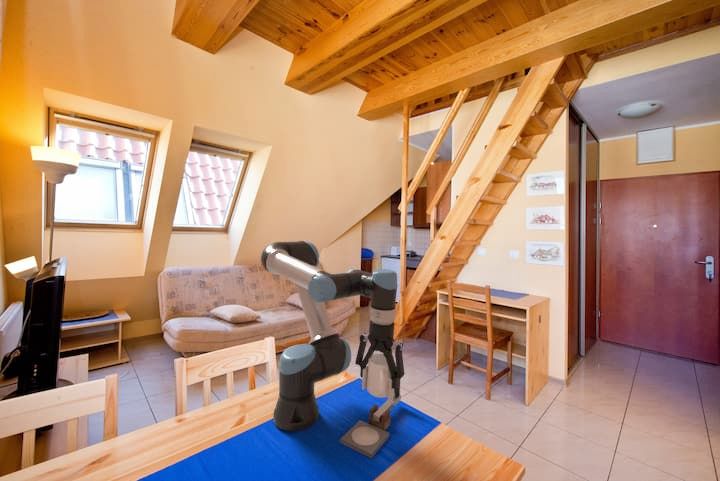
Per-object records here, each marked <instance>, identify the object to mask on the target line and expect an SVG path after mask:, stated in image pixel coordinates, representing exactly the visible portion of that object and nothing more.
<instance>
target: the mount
mask: <svg viewBox="0 0 720 481" xmlns="http://www.w3.org/2000/svg"><path fill="white" fill-rule="evenodd" d="M378 409H379V404H377V403H375V404H374V405H373V406H372V407H371V408H370V409H369V414H368V415H369V417H368V424H370V425H372V426H375V427H377V428H379V429H382V430H384V431H386V430H387V429H388V428H389V426H391V410H390V409H387V410H386V411H385V412H384V413H383V414H382V420H381V421H380V422H377V421H375V420H373V414H374V413H375V412H376V411H377V410H378Z"/></svg>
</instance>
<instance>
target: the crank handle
mask: <svg viewBox="0 0 720 481" xmlns="http://www.w3.org/2000/svg"><path fill="white" fill-rule="evenodd" d="M401 399H402V394H401V379H399V378H398V384H397V387H396V388H395V389H394V396H393V397H392V398H391V400H389V399H388V398H387V400H386V401H385V402H384V403H383V404H382V405H381V406H380V407H378V410H377V411H376V412H375V413H374V414H373V420H375V421H377V422H380V421H381V420H382V414H383V413H384V412H385V411H386V410H387V409H390V411H392V410H393V408H394V407H396V405H397V404H398V403H399V402H400V401H401Z"/></svg>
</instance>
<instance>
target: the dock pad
mask: <svg viewBox="0 0 720 481" xmlns="http://www.w3.org/2000/svg"><path fill="white" fill-rule="evenodd" d="M389 437H390V432H388V431H386V430H385V431H384V430H382V429H379V428H377V427H375V426H372V425H370V424H369V422H365V421H362V419H361V420H358V421H357V422H356V423H355V424H354V425H353V426H352V427H351V428H350V429H349V430H347V432H346V433H345V434H344V435H343V436H342V437H340V440H339V443H340V444H342V445H344V446H346V447H348V448H350V449H351V450H354V451H356V452H358V453H360V454H362V455H364V456H366V457H368V458H370V459H372V458H373V457H374V456H375V454H376V453H378V451H379V450H380V448H382V446H383V445H384V444H385V443H386V441H387V440H388V439H389Z"/></svg>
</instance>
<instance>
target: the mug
mask: <svg viewBox="0 0 720 481" xmlns="http://www.w3.org/2000/svg"><path fill="white" fill-rule="evenodd" d="M394 361H395V362H396V358H394ZM367 366H368V377H367V388H366V390H367V392H368V393H369V394H370V395H371V396H372V397H375V398H379V399H382V398H388V389H389V378H390V377H391V373H390V370H389V367H388V364H387V361H386V358H385V357H384V354H383V353H382V352H380V353H373V355H372V357H371V358H369V361H368V364H367Z"/></svg>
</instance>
